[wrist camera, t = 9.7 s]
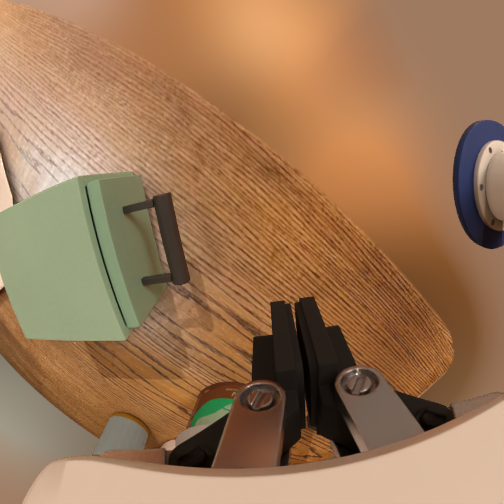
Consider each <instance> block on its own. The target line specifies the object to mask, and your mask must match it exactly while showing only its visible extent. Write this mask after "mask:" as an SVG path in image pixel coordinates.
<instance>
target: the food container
mask: <svg viewBox="0 0 504 504" xmlns="http://www.w3.org/2000/svg"><path fill="white" fill-rule="evenodd" d="M244 385H245V384H243V383H238V382H220V383H216V384H213V385H210V386H208V387H207V388H205V389H204V390H203V391H202V392H201V393H200V395H199V397H198V400H197V402H196V405H195V407H194V410H193V412H192V415H191V417H190V420H189V423H188V425H187V428H186V430H184V431H182V432H181V433H180V434H179V435H178V436H177V437H176V440H175V447H176V446H178V445H179V444H181V443H182V442H184V441H186V440H187V439H189V438H191V437H192V436H194V435H195V434H197V433H199V432H200V431H202V430H203V429H205V428H206V427H208V426H209V425H211V424H213V423H214V422H216V421H217V420H219V419H220V418H221V417H223V416H224V415H226V414H227V413H229V412H230V409H231V406H232V403H233V400H234V397H235V395H236V393H237V391H238V390H239V389H240V388H241V387H242V386H244Z"/></svg>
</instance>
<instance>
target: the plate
mask: <svg viewBox="0 0 504 504" xmlns="http://www.w3.org/2000/svg"><path fill="white" fill-rule="evenodd" d="M13 205H14V199H13V194H12V191H11V187H10V184H9V181H8V177H7V174H6V170H5V166H4V162H3V158H2V154H1V149H0V212H2V211H3V210H5V209H7V208H9V207H11V206H13ZM3 287H4V284H3V281H2V278H1V275H0V290H1V289H2V288H3Z"/></svg>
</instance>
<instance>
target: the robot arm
mask: <svg viewBox="0 0 504 504" xmlns="http://www.w3.org/2000/svg"><path fill="white" fill-rule="evenodd" d="M474 196H475V202H476V206H477V209H478V212H479V215H480V217H481V219H482V221H483V222H484V223H485V224H486V225H487V226H488V227H489V228H491V229H494V230H496V231H503V230H504V142H502V141H499V140H493V141H489V142H488V143H486V144H485V145H484V146H483V147H482V148H481V150H480V152H479V154H478V157H477V160H476V164H475V169H474ZM294 304H295V316H296V329H297V333H296V329H295V324H294V319H293V314H292V309H291V305H290V303H289V304H285V302H284V301H276V302H270V305H271V319H272V333H273V335H267V336H258V337H254V338H253V361H252V382H249V383H247V384H245V385H244V386H242V387H241V388H240V389H239V390H238V391H237V393H236V395H235V397H234V400H233V403H232V406H231V409H230V412H229V413H227V414H226V415H224V416H223V417H221V418H220V419H219V420H217V421H216V422H214V423H213V424H211V425H209V426H208V427H206V428H205V429H203V430H202V431H200V432H199V433H197V434H195V435H194V436H192V437H191V438H189V439H187V440H186V441H184V442H182V443H181V444H179V445H178V446H176V447H175V448H174V449H173V450H168V451H167V450H166V449H165V448H156V449H134V450H107V451H105V452H103V453H101V454H100V455H99V456H74V457H66V458H61V459H57V460H55V461H53V462H51V463H50V464H48V465H47V466H46V467H45V468H44V469H43V470H42V472H41V473H40V474H39V475H38V477H37V478H36V480H35V481H34V483H33V484H32V486H31V488H30V489H29V491H28V493H27V495H26V497H25V499H24V501H23V503H22V504H504V393H501V392H494V393H491V394H487V395H484V396H480V397H476V398H473V399H469V400H465V401H461V402H456V403H452V404H451V405H450V407H448V408H447V407H446V406H444V405H441V404H438V403H435V402H431V401H427V400H424V399H421V398H417V397H414V396H411V395H407V394H404V393H401V392H398V391H395V390H393V388H392V387H391V386H390V385H389V383H388V382H387V381H386V379H385V378H384V377H383V375H382V374H381V373H380V372H379V371H378V370H376V369H374V368H372V367H369V366H364V365H356V363H355V360H354V358H353V356H352V354H351V351H350V349H349V347H348V345H347V342H346V340H345V338H344V336H343V334H342V331H341V329H340V327H339V326H338V325H337V326H331V327H325V324H324V322H323V319H322V317H321V314H320V311H319V309H318V306H317V304H316V301H315V299H314V297H306V298H299V302H297V303H294ZM305 399H306V405H307V411H308V417H309V423H310V427H316V429H317V435H319V434H320V435H322V436H324V437H326V438H328V439H330V444H331V447H332V450H333V452H334V454H335V456H336V458H335V459H330V460H324V461H318V462H312V463H305V464H298V465H290V459H291V447H292V446H293V445H294V444H295V443H296V442H297V441H298V440H299V439H300V438H301V429H304V428H306V423H305Z"/></svg>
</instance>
